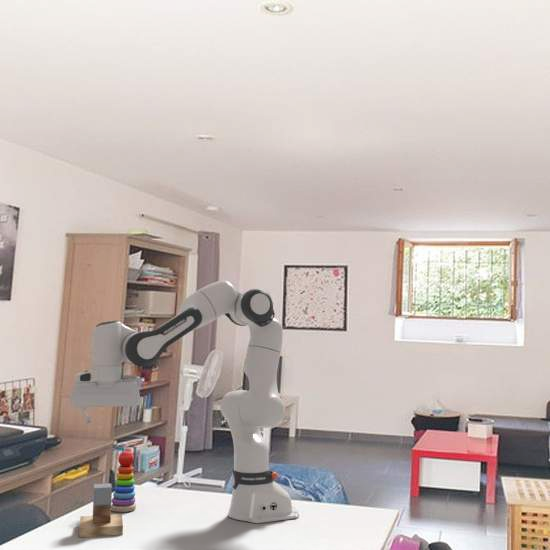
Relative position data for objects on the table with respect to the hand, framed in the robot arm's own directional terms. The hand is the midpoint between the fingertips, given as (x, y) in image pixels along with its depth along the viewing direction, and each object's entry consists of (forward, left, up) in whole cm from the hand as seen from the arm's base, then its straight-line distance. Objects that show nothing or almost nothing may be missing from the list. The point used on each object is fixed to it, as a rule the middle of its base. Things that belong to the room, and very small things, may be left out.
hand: (104, 422), depth 190 cm
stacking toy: (-7, -20, -31) cm, 38 cm away
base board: (0, 0, -31) cm, 31 cm away
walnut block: (0, 0, -28) cm, 29 cm away
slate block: (0, 0, -24) cm, 24 cm away
